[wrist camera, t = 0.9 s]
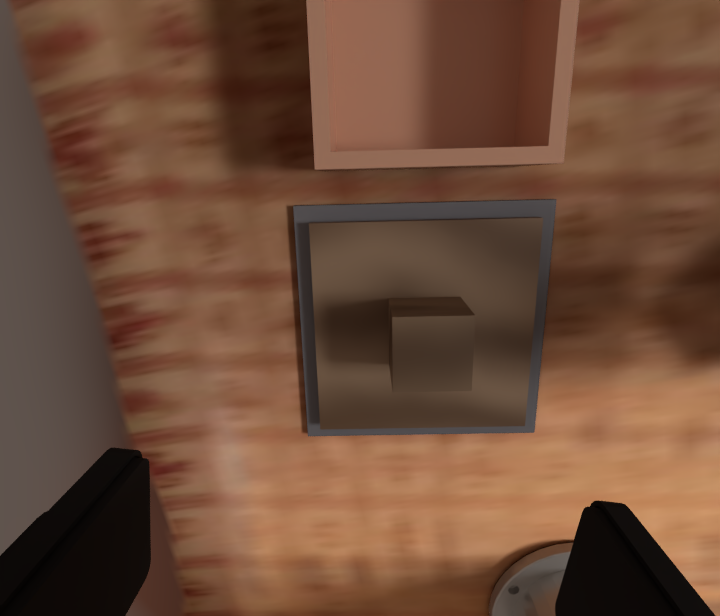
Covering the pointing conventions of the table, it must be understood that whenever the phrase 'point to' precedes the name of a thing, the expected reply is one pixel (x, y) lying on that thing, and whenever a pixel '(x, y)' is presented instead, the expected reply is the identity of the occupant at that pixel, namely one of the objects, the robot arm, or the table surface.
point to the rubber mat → (417, 212)
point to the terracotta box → (440, 82)
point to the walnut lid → (424, 321)
